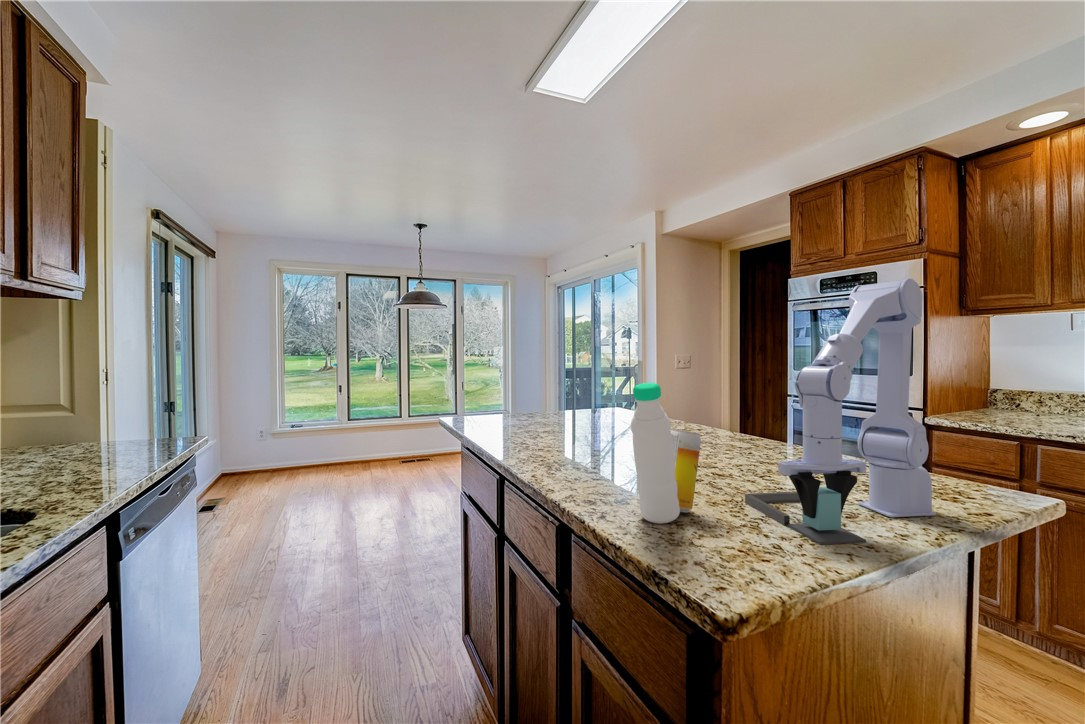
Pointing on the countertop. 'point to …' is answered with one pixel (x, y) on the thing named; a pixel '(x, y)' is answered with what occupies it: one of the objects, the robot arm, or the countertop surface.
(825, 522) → the teal block
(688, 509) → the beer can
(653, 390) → the water bottle
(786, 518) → the outer rail
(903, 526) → the countertop surface
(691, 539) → the countertop surface
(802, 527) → the rubber pad
